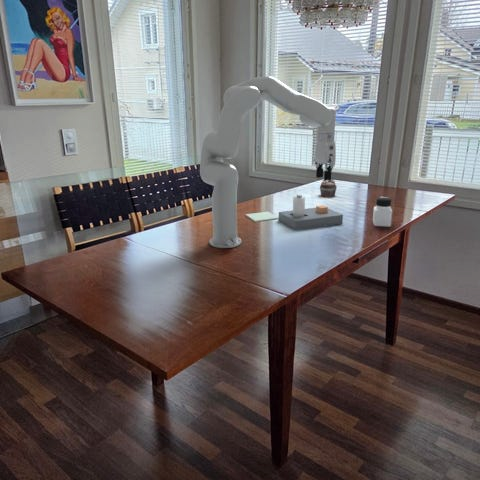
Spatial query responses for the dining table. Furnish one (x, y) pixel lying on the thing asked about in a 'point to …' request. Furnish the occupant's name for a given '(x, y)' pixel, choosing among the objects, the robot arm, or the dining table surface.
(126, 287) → the dining table surface
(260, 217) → the mat
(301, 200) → the cylinder
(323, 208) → the tan cube
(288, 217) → the housing
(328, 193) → the cupcake
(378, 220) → the medicine bottle
